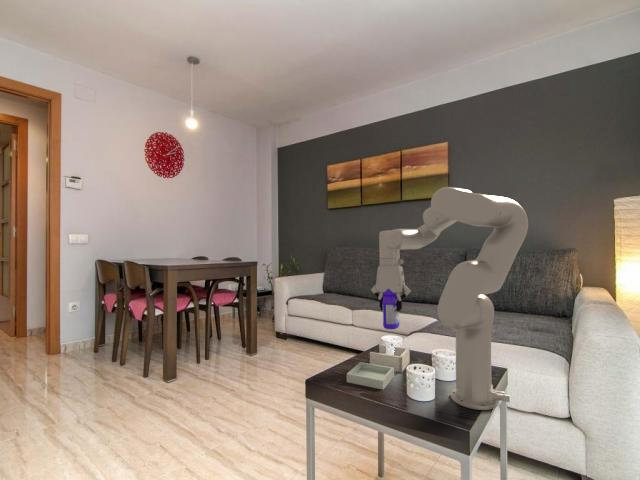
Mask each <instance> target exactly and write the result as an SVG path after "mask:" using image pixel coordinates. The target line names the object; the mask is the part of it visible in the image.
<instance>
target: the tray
mask: <svg viewBox="0 0 640 480" xmlns="http://www.w3.org/2000/svg"><path fill="white" fill-rule="evenodd" d="M394 377H395V372H394V368H392V367H387V366H381V365H375V364H370V362H369V363H368V362H363V361H360V362H358V363H357V364H356V365H355V366H354V367H353V368H351V369H350V370H349V371H348V372H347V373H346V383H349V384H354V385H359V386H363V387H369V388H373V389H378V390H385V388H386V387H387V386H388V385H389V383H390V382H391V381H392V379H393V378H394Z"/></svg>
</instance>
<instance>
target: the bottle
mask: <svg viewBox="0 0 640 480" xmlns="http://www.w3.org/2000/svg"><path fill="white" fill-rule="evenodd" d="M383 295H384V297H383V302H382V304H383V310H382V326H383V328H384V329H386V330H396V329H398V328H399V327H400V311H399V312H398V311H397V301H398V298H397V295H396V293H393V292H392V291H391V290H390V289H387V290H386V291H385V292H384V293H383Z"/></svg>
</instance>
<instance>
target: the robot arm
mask: <svg viewBox="0 0 640 480" xmlns="http://www.w3.org/2000/svg"><path fill="white" fill-rule="evenodd" d="M422 214H423V215H422V219H423V224H422V225H421V226H419V227H417V228H394V229H392V230H391V229H390V230H381V231H379V235H378V239H379V240H378V241H379V242H378V243H379V266H378V267H377V273H376V282H375V284H374V285H373V287H372V288H371V289H370V291H371V292H372V294H374V295H375V296H376V298H377V299H378V301H379V302H378V303H379V309H380V311H383V304H382V302H383V297H384V295H383V293H384V292H385V291H386V290H387V289H390V290H391V291H392V292H393V293H396V295H397V298H398V301H397V311H398V312H399V313H400V312H401V311H402V309H403V300H404V299H405V298H406V297H407V296H408V295H409V294H410V293H411V292H412V291H411V289H410V288H409V287H408V286H407V285H406V283H405V274H404V268H403V265H402V264H404V262H405V261H404V259H401V258H400V257H401V256H400V250H401V251H402V250H419V249H421V248H423V247H425V246H428V245H429V244H431V243H433V242H434V241H436V240H437V239H438V237H439V236H440V235H441V232H442V231H444V230H446V229H447V228H449V227H450V226H452V225H453V224H455V223H457V222H459V223H462V224H466V225H470V226H473V227H482V228H483V227H484V228H485V227H486V228H488V227H489V228H490V227H491V228H493V231H492V232H491V233H490V235H488V237H487V238H486V239H485V241H484V243H483V245H482V247H481V249H480V252H479V254H478V256H477V257H476V259H474V260H466V261H462V262H460V263H458V264H457V265H456V266H455V267H454V268H453V269H452V271H451V272H450V274H449V276H448V278H447V281H446V284H445V286H444V288H443V290H442V294H441V296H440V299H439V300H438V304H437V317H438V319H439V321H440V323H441V325H443V326H444V327H446V328H448V329H451V330H456V333H455V388H453V389H452V390H451V391H450V398H451V401H453V402H454V403H456V404H457V405H459V406H462V407H464V408H467V409H472V410H477V411H489V410H493V409H495V408H497V407H498V403H499V401H500V402H504V403H510V402H511V401H510V397H511V396H510V394H506V393H505V391H502V390H496V389H495V388H494V385H493V384H492V329H493V324H494V318H495V307H494V304H493V302H492V300H491V299H490V298H489V296H487V295H488V294H493V293H496V292H498V291H499V290H500V289H501V288H502V286H503V285H504V283H505V281H506V278H507V276H508V274H509V271H511V267H512V265H513V264H514V261H515V259H516V256H517V254H518V253H519V250H520V248H521V247H522V245H523V243H524V241H525V238H526V237H527V234H528V229H529V219H528V215H527V212H526V210H525V209H524V208H523V207H522V205H521V204H520V203H518V202H517V201H515V200H514V199H511V198H509V197H504V196H498V195H490V194H489V195H488V194H482V193H476V192H475V193H474V192H472V191H471V190H469V189H466V188H462V187H455V186H454V187H453V186H445V187H441V188H439V189H438V190H436V191H435V192H434V194H433V195H432V197H431V200H430V206H429V207H428V208H426V209H425V210H424V212H423V213H422ZM402 292H404V293H403V294H402Z"/></svg>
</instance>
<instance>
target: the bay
mask: <svg viewBox="0 0 640 480" xmlns="http://www.w3.org/2000/svg"><path fill="white" fill-rule="evenodd" d="M378 345H379V346H378V352H374V351H370V352H369V364H375V365H381V366H387V367H392V368H394V373H398V374H403V372H404V371H405V370H406V369H407V367H408V366H409V364H410V362H411V351H410V350H411V349H410V347H409V348H408V347H402V346H397V347H394V348H395V350H394V351H395V352H394V355H388V354H385V353H386V346H385V345H386V344H378ZM407 365H408V366H407ZM406 366H407V367H406Z"/></svg>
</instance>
